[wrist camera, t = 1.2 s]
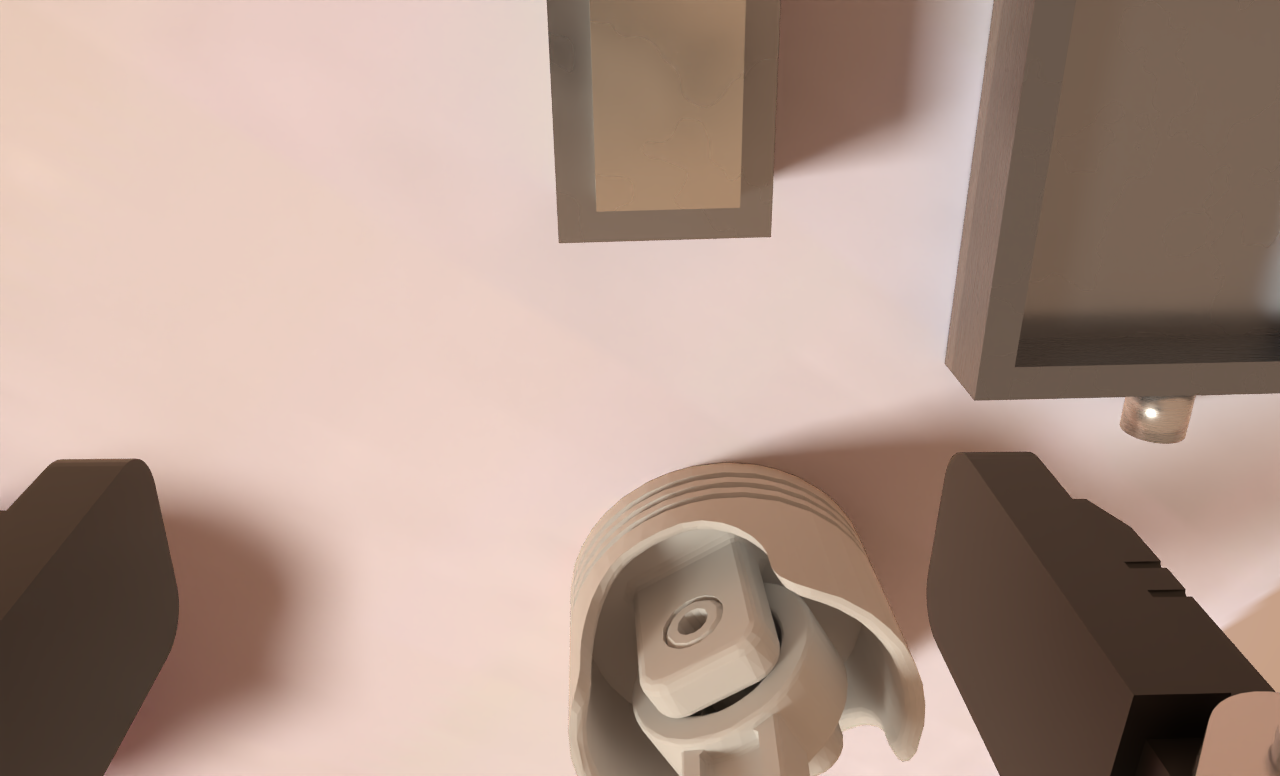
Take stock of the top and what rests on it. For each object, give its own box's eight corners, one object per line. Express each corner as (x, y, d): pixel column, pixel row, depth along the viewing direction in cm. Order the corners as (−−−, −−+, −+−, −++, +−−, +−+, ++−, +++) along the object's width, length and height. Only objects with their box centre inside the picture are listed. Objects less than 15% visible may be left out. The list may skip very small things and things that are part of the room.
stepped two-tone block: (547, -132, 25) (538, -144, 20) (749, -135, 25) (795, -147, 20) (562, 190, 28) (557, 255, 23) (740, 185, 29) (778, 249, 23)
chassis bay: (1019, -184, 25) (1064, -195, 23) (1490, -183, 26) (1582, -193, 23) (938, 410, 32) (966, 450, 29) (1311, 401, 32) (1368, 440, 30)
